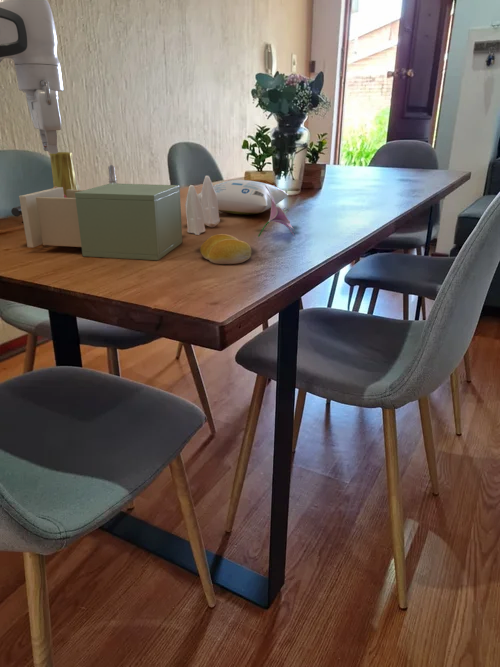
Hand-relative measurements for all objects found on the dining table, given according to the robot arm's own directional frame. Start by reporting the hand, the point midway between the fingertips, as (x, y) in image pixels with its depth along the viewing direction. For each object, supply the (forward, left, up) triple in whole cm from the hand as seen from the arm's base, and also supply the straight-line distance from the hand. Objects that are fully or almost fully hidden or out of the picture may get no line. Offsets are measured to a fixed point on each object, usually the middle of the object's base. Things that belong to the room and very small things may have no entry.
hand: (50, 152), depth 111 cm
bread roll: (+40, -32, -16) cm, 53 cm away
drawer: (+10, -23, -14) cm, 29 cm away
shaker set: (+34, -7, -16) cm, 38 cm away
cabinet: (+23, -26, -15) cm, 37 cm away
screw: (+14, -3, -16) cm, 21 cm away
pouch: (+42, +15, -16) cm, 47 cm away
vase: (-3, +15, -16) cm, 22 cm away
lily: (+50, -14, -16) cm, 54 cm away
